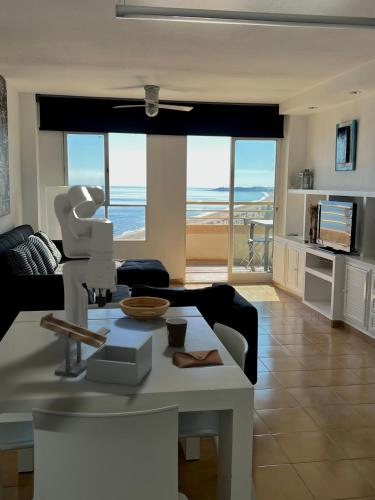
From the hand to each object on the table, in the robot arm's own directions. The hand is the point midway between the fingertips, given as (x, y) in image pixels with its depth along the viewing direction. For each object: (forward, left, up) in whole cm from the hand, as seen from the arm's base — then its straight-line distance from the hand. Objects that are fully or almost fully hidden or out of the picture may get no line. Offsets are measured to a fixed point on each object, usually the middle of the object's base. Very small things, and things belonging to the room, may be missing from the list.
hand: (101, 306), depth 172 cm
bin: (+11, -9, -20) cm, 25 cm away
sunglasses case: (+34, +9, -21) cm, 41 cm away
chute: (-7, -4, -8) cm, 11 cm away
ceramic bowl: (-2, +59, -21) cm, 62 cm away
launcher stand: (-6, -9, -20) cm, 23 cm away
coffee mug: (+22, +27, -21) cm, 40 cm away
